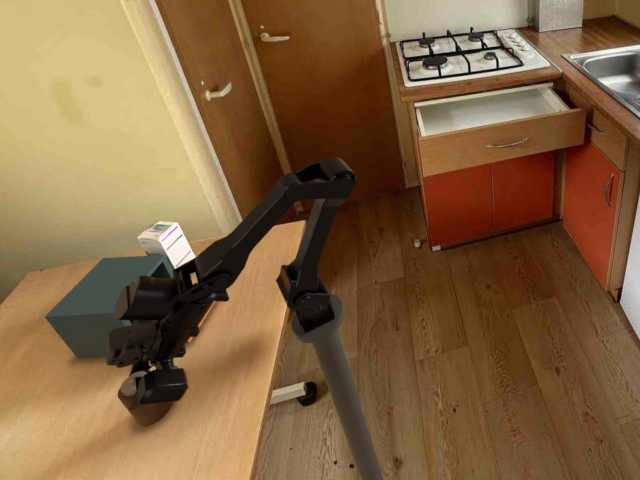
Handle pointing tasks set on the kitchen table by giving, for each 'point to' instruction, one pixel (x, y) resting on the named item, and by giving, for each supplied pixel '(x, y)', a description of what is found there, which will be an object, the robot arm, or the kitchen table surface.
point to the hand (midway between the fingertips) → (130, 396)
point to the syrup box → (166, 243)
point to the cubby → (101, 302)
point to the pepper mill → (144, 413)
